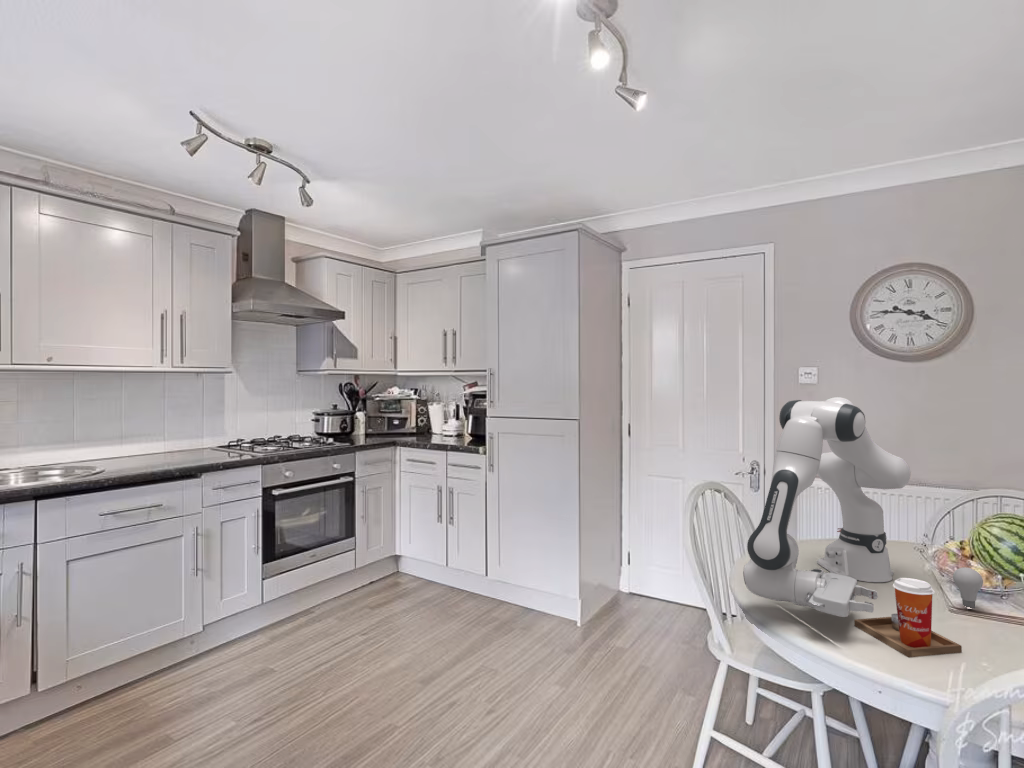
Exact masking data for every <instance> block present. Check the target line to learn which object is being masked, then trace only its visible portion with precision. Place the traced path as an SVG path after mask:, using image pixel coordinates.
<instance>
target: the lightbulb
mask: <svg viewBox="0 0 1024 768" xmlns="http://www.w3.org/2000/svg"><path fill="white" fill-rule="evenodd" d="M952 575H953V576H952V580H953V582H954V584H955V585H956V587H957V588H958V590H959V593H960V597H961V599H962V601H961V602H962V606H963V605H964V606H966V607H970V608H974V609H975V608H976V601H977V597H978V593H979V591H980V590H981V589H982V588H983V585H984V580H983V579H984V578H983V577H982V575H981V574H980V573H979V572H978V571H977V570H975V569H973V568H972V567H971V568H970V567H966V566H965V567H963V566H962V567H959V568H957V569H956V570H954V572H953V574H952ZM964 606H963V607H964ZM966 607H965V608H966Z"/></svg>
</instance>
